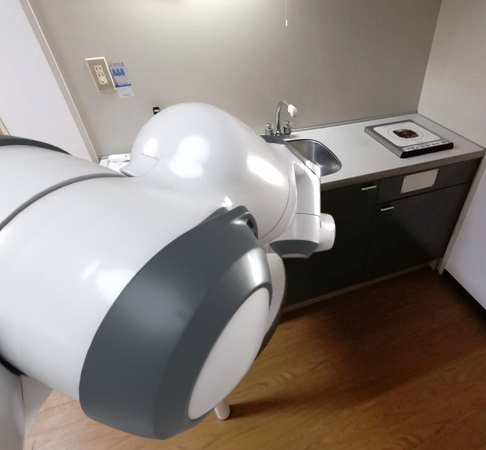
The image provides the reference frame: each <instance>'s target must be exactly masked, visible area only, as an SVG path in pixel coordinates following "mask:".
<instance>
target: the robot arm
mask: <svg viewBox="0 0 486 450" xmlns="http://www.w3.org/2000/svg"><path fill="white" fill-rule="evenodd" d="M129 156H130V157H129V163H127V164H126V165H124V166H122V167H120V168H119V171H117V170H114V169H112V168H109V167H107V166H104V165H101V164H100V163H99V164H98V163H96V162H93V161H92V160H91V161H90V160H88V159H84V158H81V157H78V156H75V155H73V154H71V153H70V152H68V151H66V150H65V149H62V148H61V147H59V146H57V145H54V144H51V143H49V142H44V141H40V140H36V139H31V138H27V137H21V136H16V135H9V134H8V135H7V134H0V450H25V449H26V448H25V447H26V446H25V444H26V439H27V437H28V435H29V433H30V430H31V428H32V426H33V425H34V422H35V419H36V418H37V417H38V415H39V413H40V411H41V409H42V407H43V406H44V404H45V403H46V401H47V399H48V398H49V397H50V395H51V394H52V393H53V391H55V392H58V393H59V394H61V395H63V396H65V397H67V398H69V399H71V400H73V401H75V402H78V403H79V405H80V408H81V410H82V411H83V414H84V415H85V416H86V417H87V418H88V419H90V420H92V421H94V422H97V423H99V424H102V425H104V426H106V427H109V428H111V429H114V430H117V431H120V432H123V433H126V434H129V435H132V436H136V437H139V438H140V437H141V438H144V439H150V440H157V441H166V440H170V439H171V438H174V437H176V436H178V435H180V434H182V433H184V432H186V431H188V430H191V429H192V428H195V427H196V426H198V425H199V424H200V423H202V422H203V421H204V420H205V419H206V418H207V417H208V416H209V415H210V414H211V413H212V412H213V411H214V410H215V408H216V407H217V406H218V405H219V404H220V403H221V402H222V401H224V399H226V398H227V396H229V395H230V394H231V393H232V392H233V390H235V388H237V386H238V385H239V384H240V382H242V380H243V379H244V378H245V376H246V374H247V373H248V371H249V370H250V368H251V367H252V365H253V363H254V362H255V359H256V358H257V355H258V353H259V351H260V349H261V346H262V344H263V341H264V338H265V334H266V330H267V326H268V321H269V320H268V319H269V315H270V313H269V312H270V309H271V305H272V301H273V293H274V289H273V281H272V279H273V278H272V274H271V269H270V265H269V260H268V258H267V254H276V255H277V256H278V257H279V258H280V259H308V258H309V257H311V256H312V254H313V253H318V252H324V251H329V250H331V249H332V248H333V246H334V243H335V239H336V224H335V220H334V218H333V216H332V215H331V214H328V213H323V212H321V186H322V185H321V184H322V183H321V182H322V169H321V167H319V165H318V164H317V163H316V162H315V161H314V160H312V159H311V158H309V157H306V156H303V155H302V154H301V153H300V152H299V151H298V150H297V149H296V148H294V146H293V145H292V144H291V143H289V142H288V141H287V140H285V139H283V138H281V137H280V136H276V135H271V134H258V132H257V131H255V130H254V129H253V128H251V126H249V125H247V124H246V123H245V122H243V121H242V120H240V119H239V118H237V117H236V116H234V115H233V114H231V113H229V112H227V111H225V110H224V109H222V108H220V107H217V106H215V105H214V104H213V105H212V104H210V103H204V102H199V101H198V102H196V101H189V102H187V101H186V102H181V103H177V104H173V105H170V106H168V107H165V108H163V109H162V110H160V111H158V112H157V113H156V114H154V115H153V116H152V117H151V118H149V119H148V120H147V121H146V122H145V123H144V125H143V126H142V127H141V129H140V130H139V132H138V133H137V135H136V137H135V139H134V141H133V145H132V147H131V151H130V155H129Z"/></svg>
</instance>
